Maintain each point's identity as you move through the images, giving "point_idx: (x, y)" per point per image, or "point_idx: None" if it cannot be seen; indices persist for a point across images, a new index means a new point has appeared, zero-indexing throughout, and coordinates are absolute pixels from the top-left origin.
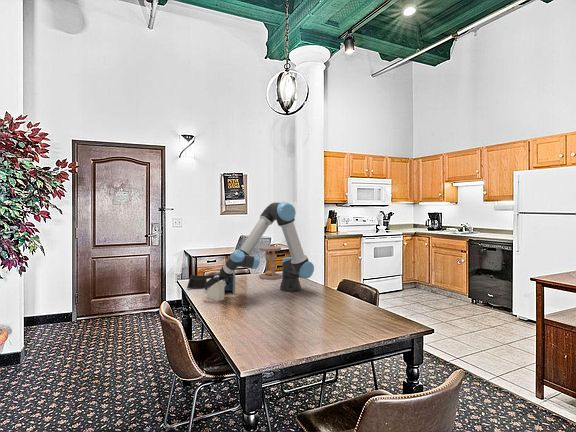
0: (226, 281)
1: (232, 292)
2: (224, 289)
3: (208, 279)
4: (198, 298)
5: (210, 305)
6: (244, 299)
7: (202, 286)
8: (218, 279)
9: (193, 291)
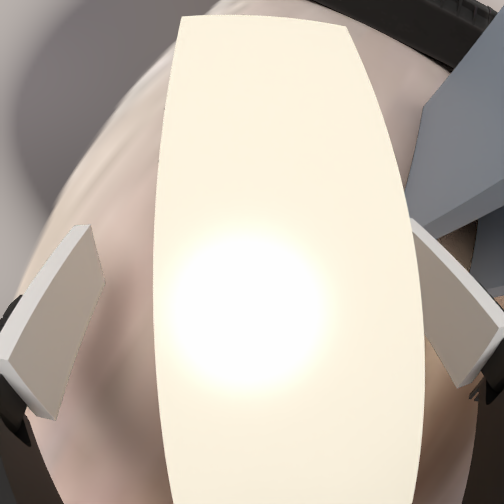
0: (473, 485)
1: (477, 242)
2: (437, 237)
3: (172, 68)
4: (123, 182)
5: (72, 480)
6: (417, 501)
7: (340, 1)
8: (456, 26)
9: (250, 13)
